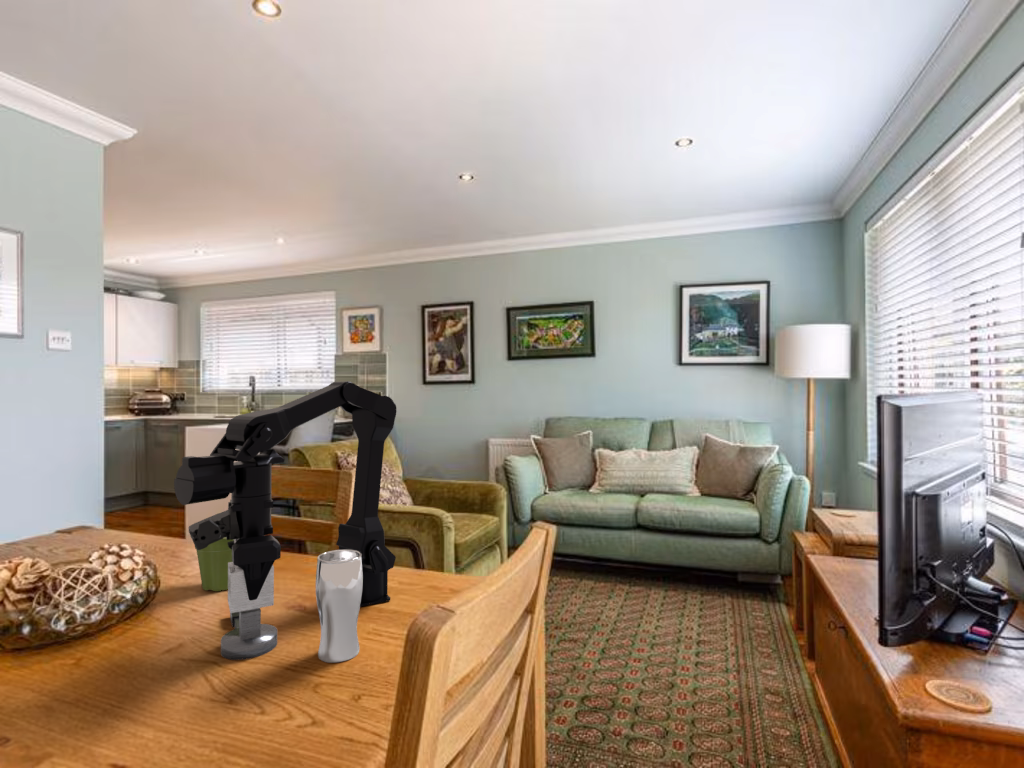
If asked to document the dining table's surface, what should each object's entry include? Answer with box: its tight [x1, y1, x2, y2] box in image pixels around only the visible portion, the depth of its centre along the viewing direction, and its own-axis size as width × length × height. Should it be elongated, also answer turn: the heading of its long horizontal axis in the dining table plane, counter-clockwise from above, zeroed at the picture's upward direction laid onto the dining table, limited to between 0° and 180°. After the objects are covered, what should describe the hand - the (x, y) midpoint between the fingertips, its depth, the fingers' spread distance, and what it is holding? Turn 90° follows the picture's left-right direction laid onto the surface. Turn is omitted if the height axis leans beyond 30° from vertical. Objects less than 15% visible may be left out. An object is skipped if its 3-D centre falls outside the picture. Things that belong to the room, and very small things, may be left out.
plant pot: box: [194, 537, 233, 592], centre depth 112 cm, size 12×12×11 cm
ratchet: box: [220, 608, 278, 661], centre depth 89 cm, size 18×8×6 cm, turn 31°
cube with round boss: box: [227, 562, 275, 614], centre depth 85 cm, size 6×6×8 cm
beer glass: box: [315, 549, 363, 664], centre depth 83 cm, size 7×7×15 cm
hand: (250, 593), depth 85 cm, fingers closed on cube with round boss, 6 cm apart
